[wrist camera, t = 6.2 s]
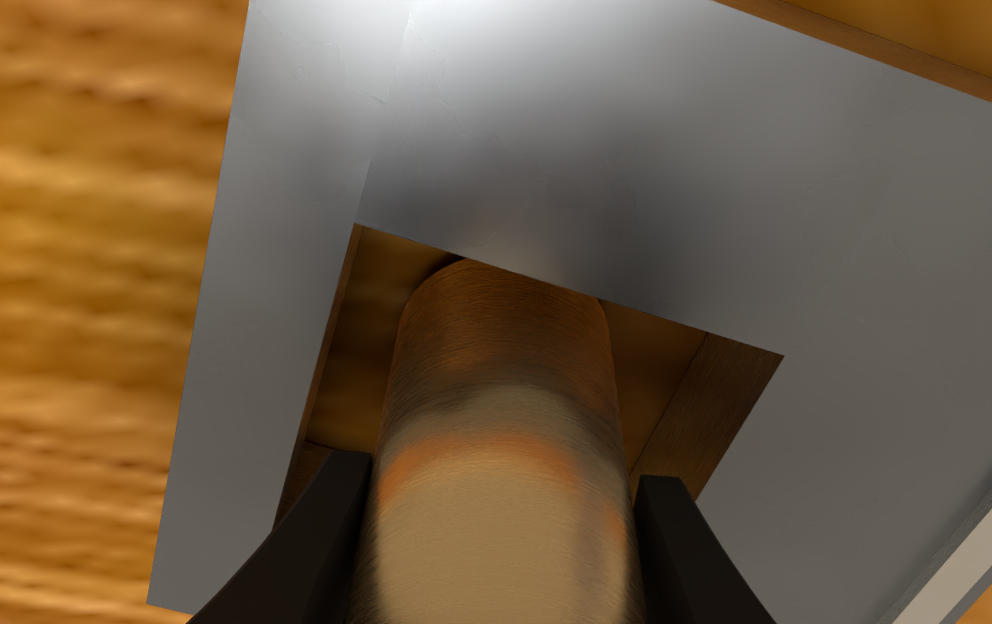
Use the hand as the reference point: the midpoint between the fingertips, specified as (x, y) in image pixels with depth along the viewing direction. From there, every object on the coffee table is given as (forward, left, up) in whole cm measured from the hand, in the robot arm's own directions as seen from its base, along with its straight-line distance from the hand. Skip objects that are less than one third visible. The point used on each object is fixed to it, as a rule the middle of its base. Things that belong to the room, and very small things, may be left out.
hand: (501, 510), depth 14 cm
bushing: (0, -1, -3) cm, 4 cm away
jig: (-2, -1, -4) cm, 5 cm away
